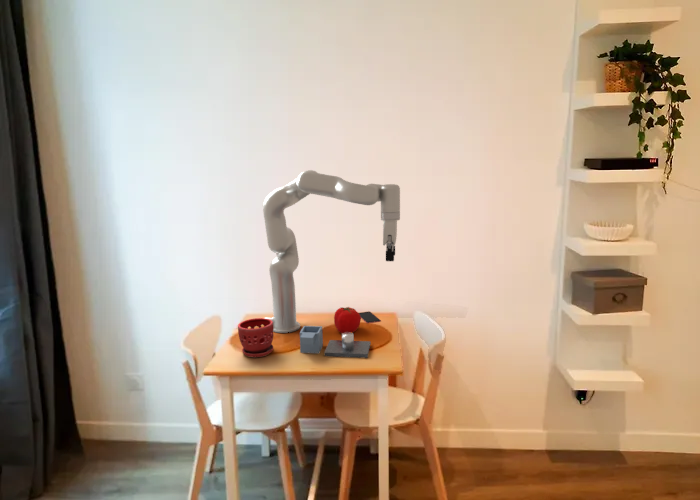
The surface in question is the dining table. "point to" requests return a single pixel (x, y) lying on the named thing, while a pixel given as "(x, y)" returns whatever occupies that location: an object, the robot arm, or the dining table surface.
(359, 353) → the duct base
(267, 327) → the plant pot
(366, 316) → the smartphone
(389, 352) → the dining table surface
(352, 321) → the tomato
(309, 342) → the elbow
